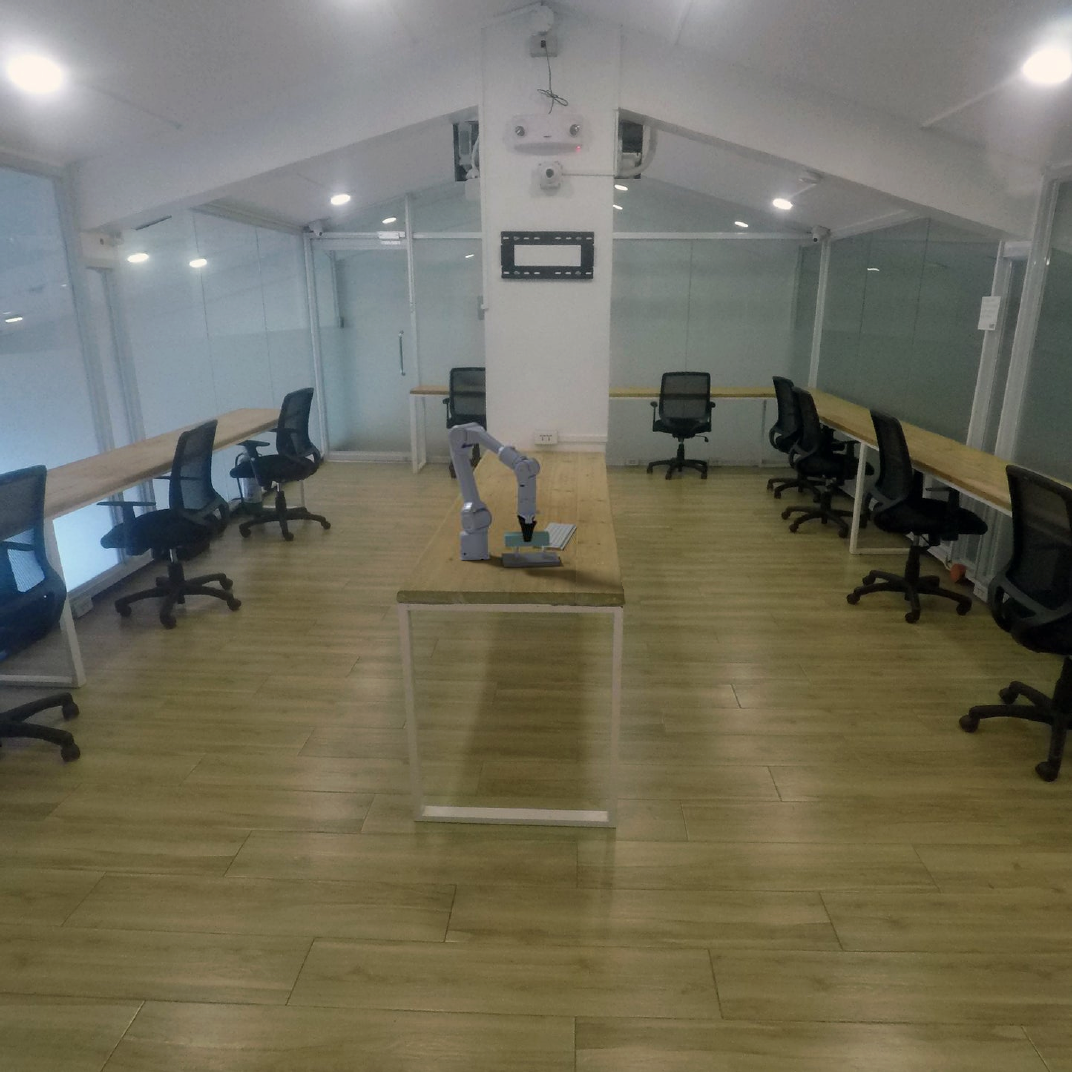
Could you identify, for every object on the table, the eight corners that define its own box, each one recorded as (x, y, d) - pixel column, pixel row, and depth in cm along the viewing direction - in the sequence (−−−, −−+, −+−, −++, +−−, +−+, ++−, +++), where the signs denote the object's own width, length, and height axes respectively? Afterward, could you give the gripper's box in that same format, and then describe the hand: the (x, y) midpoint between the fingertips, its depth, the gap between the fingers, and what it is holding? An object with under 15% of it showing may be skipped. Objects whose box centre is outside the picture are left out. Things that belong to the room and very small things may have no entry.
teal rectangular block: (505, 546, 235) (504, 536, 234) (504, 542, 239) (504, 532, 238) (549, 545, 236) (549, 535, 235) (547, 541, 241) (548, 531, 240)
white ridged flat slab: (581, 528, 286) (550, 526, 289) (581, 521, 286) (550, 519, 288) (566, 552, 257) (532, 549, 260) (566, 544, 257) (532, 541, 259)
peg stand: (503, 567, 240) (503, 550, 238) (501, 557, 250) (501, 541, 248) (559, 565, 242) (559, 549, 240) (555, 556, 251) (555, 540, 250)
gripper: (542, 503, 227) (541, 545, 231) (537, 492, 241) (537, 532, 245) (518, 503, 226) (518, 546, 230) (515, 492, 240) (515, 533, 244)
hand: (526, 539), depth 237 cm, fingers closed on teal rectangular block, 4 cm apart
